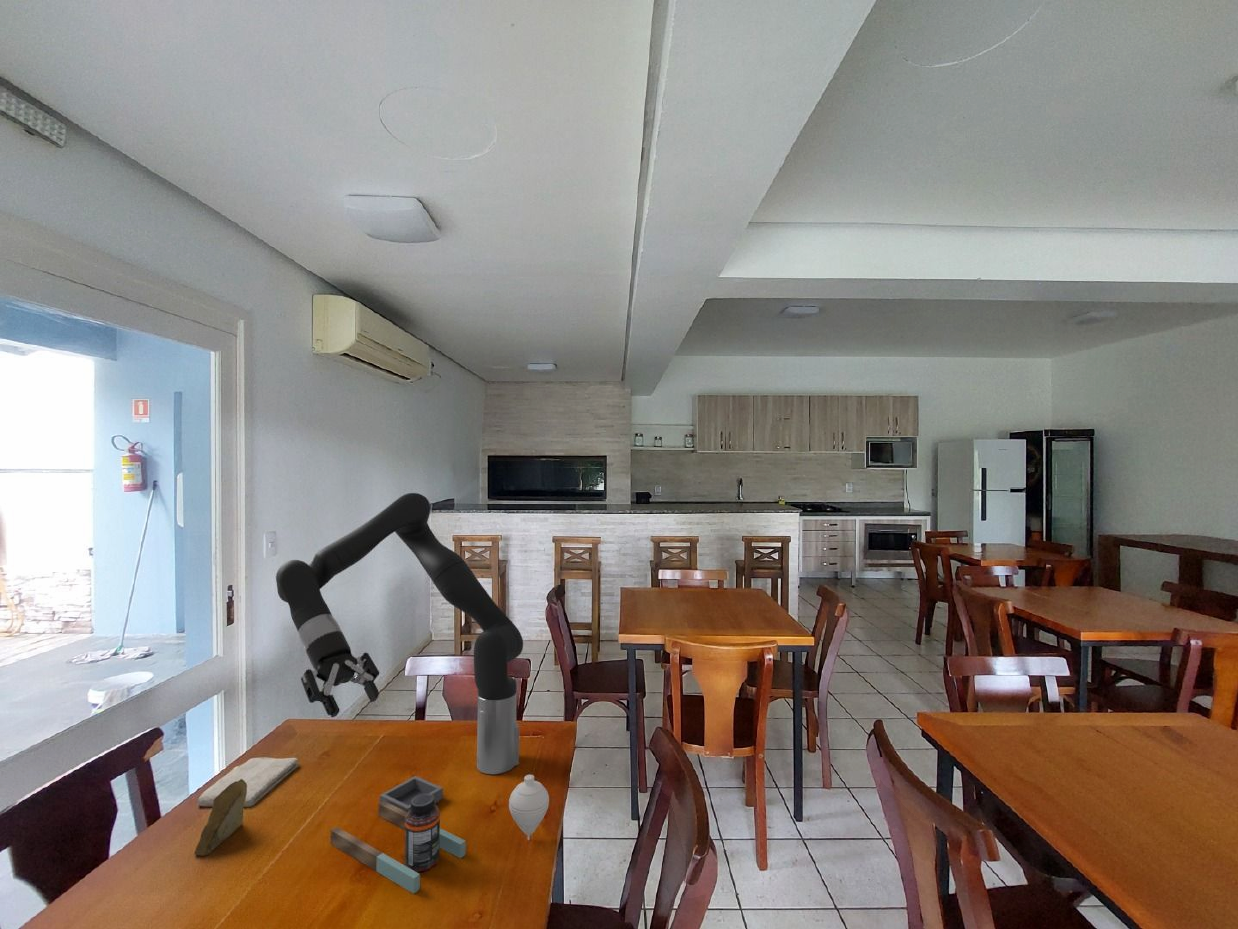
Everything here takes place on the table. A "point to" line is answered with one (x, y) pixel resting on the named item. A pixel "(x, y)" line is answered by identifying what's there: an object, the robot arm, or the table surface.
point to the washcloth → (252, 779)
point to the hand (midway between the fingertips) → (356, 707)
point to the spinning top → (528, 804)
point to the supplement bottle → (422, 833)
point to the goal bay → (407, 875)
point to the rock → (223, 817)
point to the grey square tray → (411, 793)
